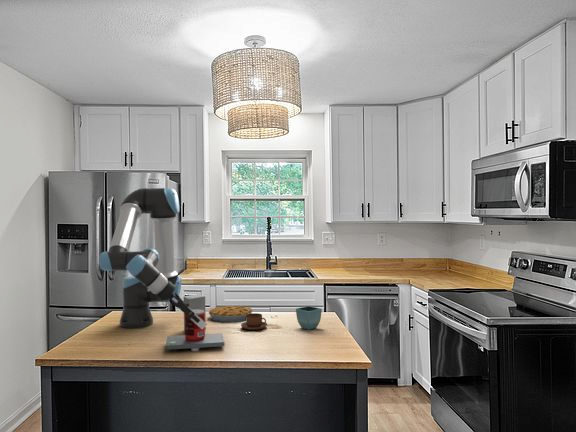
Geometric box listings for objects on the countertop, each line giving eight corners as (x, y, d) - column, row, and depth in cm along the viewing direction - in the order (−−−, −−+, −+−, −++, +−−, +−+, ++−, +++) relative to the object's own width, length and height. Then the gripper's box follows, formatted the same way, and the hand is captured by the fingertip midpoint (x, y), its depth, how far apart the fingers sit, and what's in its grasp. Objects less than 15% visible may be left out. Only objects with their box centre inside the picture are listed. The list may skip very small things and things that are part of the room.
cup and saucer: (268, 325, 221) (268, 312, 221) (265, 332, 209) (265, 318, 209) (243, 325, 222) (243, 312, 222) (238, 331, 211) (238, 317, 210)
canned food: (206, 336, 190) (205, 308, 190) (203, 341, 182) (202, 313, 182) (187, 336, 190) (186, 309, 190) (183, 341, 182) (182, 313, 182)
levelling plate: (167, 343, 191) (167, 335, 191) (222, 340, 195) (222, 332, 195) (165, 353, 177) (165, 344, 177) (224, 349, 182) (224, 341, 182)
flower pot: (308, 331, 209) (308, 311, 209) (295, 328, 215) (295, 308, 215) (322, 328, 215) (322, 308, 215) (309, 324, 221) (309, 305, 221)
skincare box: (200, 327, 217) (200, 293, 217) (206, 331, 211) (206, 295, 211) (182, 330, 212) (182, 295, 212) (188, 333, 206) (188, 297, 206)
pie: (240, 324, 224) (240, 314, 224) (200, 321, 231) (200, 310, 231) (259, 315, 244) (259, 305, 244) (221, 312, 252) (221, 302, 252)
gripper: (151, 290, 192) (189, 323, 198) (158, 300, 169) (200, 338, 175) (164, 276, 194) (201, 309, 199) (173, 284, 171) (214, 322, 176)
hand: (201, 323), depth 187 cm, fingers open, 13 cm apart
